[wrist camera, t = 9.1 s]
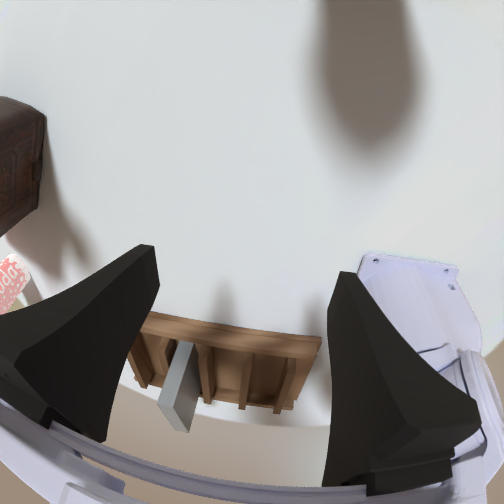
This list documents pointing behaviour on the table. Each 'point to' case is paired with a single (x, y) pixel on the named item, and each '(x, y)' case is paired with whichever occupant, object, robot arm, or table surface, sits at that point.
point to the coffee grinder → (19, 160)
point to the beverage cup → (12, 280)
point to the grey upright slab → (181, 387)
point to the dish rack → (227, 360)
